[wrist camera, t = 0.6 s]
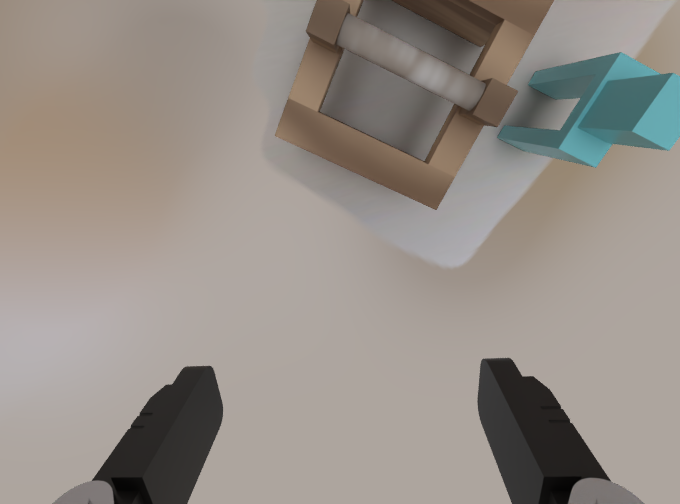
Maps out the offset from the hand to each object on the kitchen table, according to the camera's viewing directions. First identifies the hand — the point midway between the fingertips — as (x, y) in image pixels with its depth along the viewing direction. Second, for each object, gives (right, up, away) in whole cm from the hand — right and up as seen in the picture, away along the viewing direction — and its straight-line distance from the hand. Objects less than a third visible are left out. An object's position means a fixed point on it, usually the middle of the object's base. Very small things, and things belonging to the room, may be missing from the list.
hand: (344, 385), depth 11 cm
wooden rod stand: (+4, +19, +22) cm, 30 cm away
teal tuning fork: (+18, +17, +23) cm, 33 cm away
